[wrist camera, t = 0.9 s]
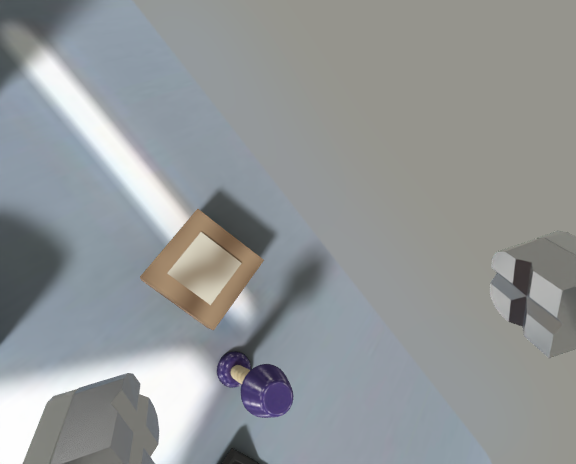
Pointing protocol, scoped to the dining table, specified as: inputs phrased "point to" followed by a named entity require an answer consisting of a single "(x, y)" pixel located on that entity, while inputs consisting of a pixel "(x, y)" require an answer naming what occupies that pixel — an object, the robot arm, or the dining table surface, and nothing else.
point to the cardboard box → (202, 269)
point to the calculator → (238, 458)
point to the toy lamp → (257, 385)
